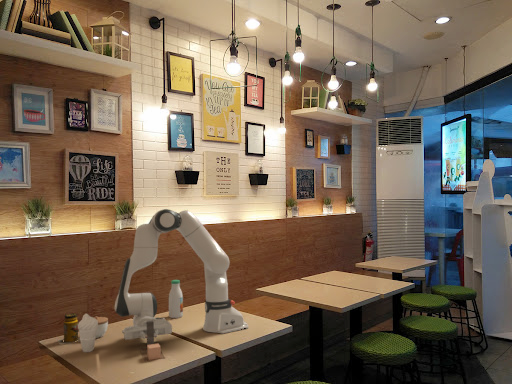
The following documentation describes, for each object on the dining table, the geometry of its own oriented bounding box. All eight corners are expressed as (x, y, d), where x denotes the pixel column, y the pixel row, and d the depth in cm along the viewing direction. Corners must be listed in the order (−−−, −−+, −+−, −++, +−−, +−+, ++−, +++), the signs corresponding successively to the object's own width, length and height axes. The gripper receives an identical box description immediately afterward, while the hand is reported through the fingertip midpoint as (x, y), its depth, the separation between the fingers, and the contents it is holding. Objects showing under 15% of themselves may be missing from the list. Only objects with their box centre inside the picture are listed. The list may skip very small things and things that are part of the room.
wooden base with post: (139, 350, 179) (138, 319, 180) (158, 348, 182) (157, 317, 183) (144, 364, 163) (144, 330, 164) (165, 361, 167) (165, 327, 167)
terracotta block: (147, 356, 169) (147, 345, 169) (158, 354, 171) (158, 343, 171) (149, 360, 165) (148, 348, 165) (160, 358, 167) (160, 346, 167)
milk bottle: (176, 319, 228) (176, 282, 229) (165, 317, 232) (165, 281, 233) (185, 315, 235) (185, 279, 236) (175, 314, 239) (174, 278, 240)
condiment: (80, 341, 194) (80, 315, 194) (60, 345, 189) (59, 318, 189) (77, 337, 200) (76, 312, 200) (57, 340, 195) (57, 314, 195)
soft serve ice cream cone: (95, 346, 187) (95, 309, 187) (100, 351, 180) (100, 313, 180) (75, 350, 182) (75, 312, 182) (80, 355, 175) (80, 316, 176)
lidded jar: (92, 332, 207) (92, 313, 207) (112, 333, 205) (112, 313, 205) (79, 339, 196) (79, 319, 197) (100, 340, 195) (100, 319, 195)
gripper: (121, 323, 184) (124, 331, 172) (168, 317, 192) (174, 325, 179) (121, 337, 184) (124, 347, 171) (168, 331, 192) (174, 340, 179)
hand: (150, 335), depth 175 cm, fingers closed on wooden base with post, 2 cm apart
